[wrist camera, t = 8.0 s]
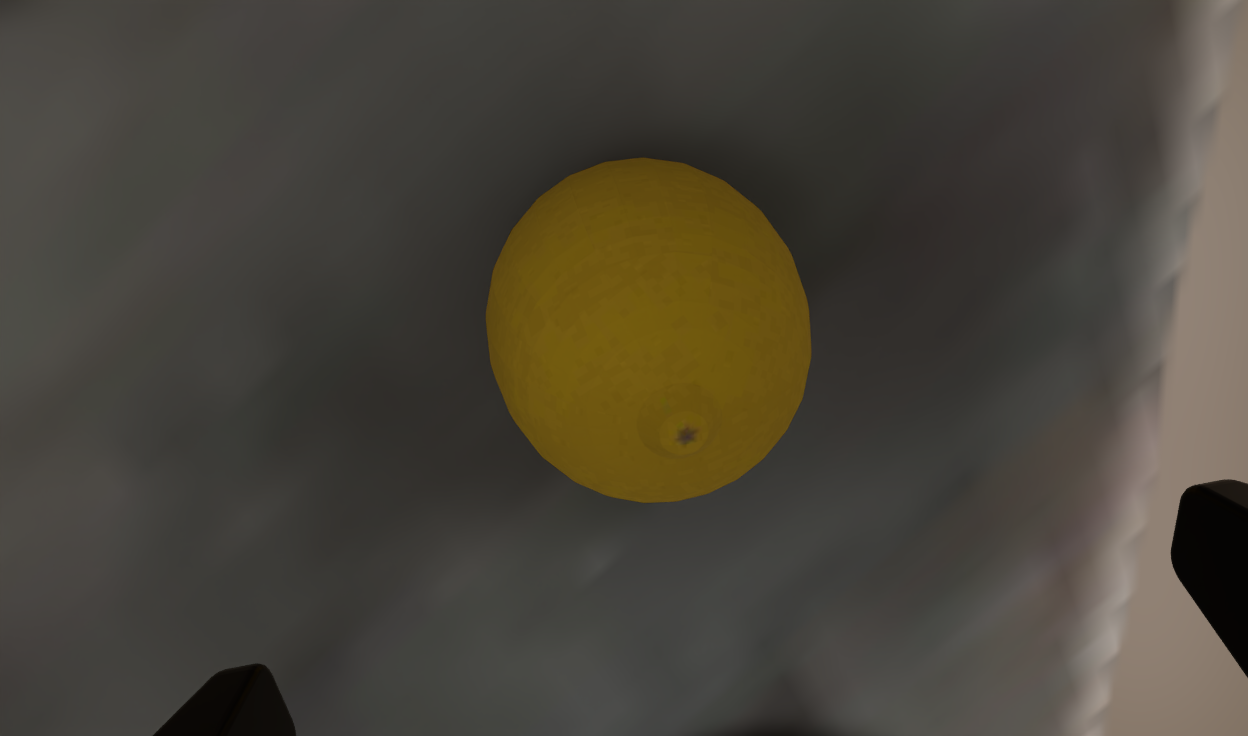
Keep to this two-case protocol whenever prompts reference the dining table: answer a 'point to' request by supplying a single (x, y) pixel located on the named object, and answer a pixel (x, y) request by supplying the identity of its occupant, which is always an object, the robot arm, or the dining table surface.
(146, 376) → the dining table surface
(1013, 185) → the dining table surface
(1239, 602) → the robot arm
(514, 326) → the lemon
